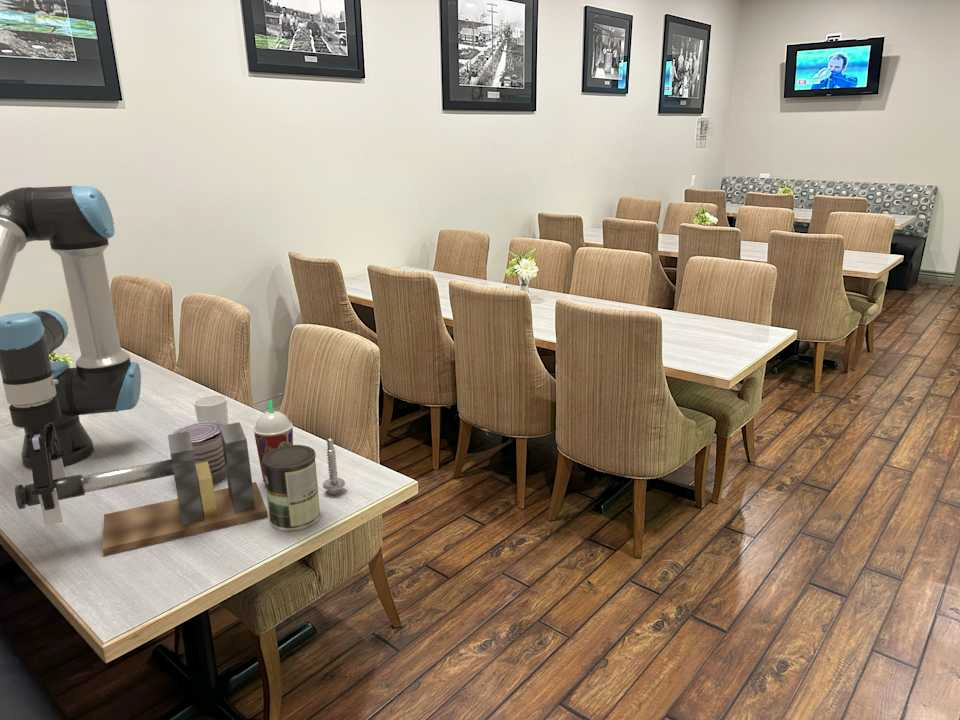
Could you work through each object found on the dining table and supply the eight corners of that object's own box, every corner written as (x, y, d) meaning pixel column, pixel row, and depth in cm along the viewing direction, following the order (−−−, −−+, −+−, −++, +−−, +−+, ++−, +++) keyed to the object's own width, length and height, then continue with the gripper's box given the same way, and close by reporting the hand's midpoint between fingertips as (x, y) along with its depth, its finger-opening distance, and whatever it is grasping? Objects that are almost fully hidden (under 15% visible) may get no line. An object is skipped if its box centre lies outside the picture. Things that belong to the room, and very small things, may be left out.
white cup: (236, 430, 184) (231, 395, 181) (222, 442, 176) (217, 406, 173) (208, 429, 185) (203, 394, 181) (193, 441, 177) (188, 405, 174)
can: (225, 487, 153) (218, 437, 150) (171, 491, 152) (163, 442, 148) (234, 464, 164) (227, 418, 160) (184, 468, 162) (176, 421, 159)
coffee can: (264, 533, 135) (256, 468, 131) (275, 506, 145) (267, 445, 140) (317, 530, 136) (311, 465, 131) (324, 504, 145) (318, 443, 141)
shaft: (19, 513, 124) (13, 491, 123) (22, 502, 128) (17, 481, 126) (184, 479, 136) (181, 459, 134) (183, 470, 140) (180, 450, 138)
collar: (204, 518, 138) (198, 480, 135) (200, 499, 145) (194, 463, 142) (217, 515, 139) (212, 477, 136) (212, 497, 146) (207, 461, 143)
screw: (343, 497, 148) (321, 497, 148) (347, 486, 153) (325, 486, 153) (338, 442, 144) (315, 442, 144) (343, 433, 149) (320, 433, 149)
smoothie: (305, 477, 157) (297, 395, 151) (284, 494, 150) (274, 409, 144) (274, 472, 160) (265, 392, 154) (252, 488, 152) (241, 405, 146)
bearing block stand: (103, 555, 128) (86, 474, 123) (105, 520, 140) (89, 445, 135) (267, 516, 141) (258, 441, 135) (256, 487, 153) (247, 417, 147)
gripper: (51, 420, 113) (76, 532, 120) (62, 377, 134) (83, 474, 141) (-3, 429, 110) (25, 543, 116) (17, 383, 131) (41, 482, 138)
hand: (57, 506), depth 129 cm, fingers open, 13 cm apart
